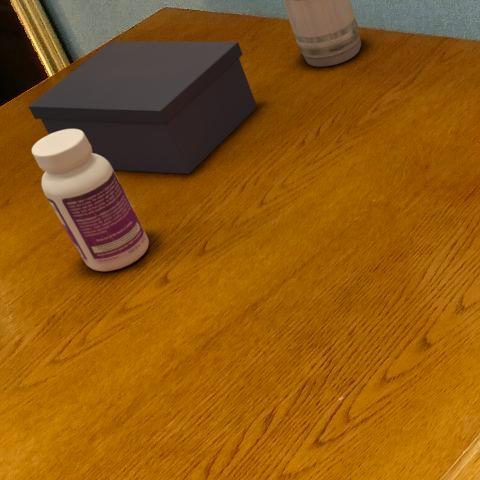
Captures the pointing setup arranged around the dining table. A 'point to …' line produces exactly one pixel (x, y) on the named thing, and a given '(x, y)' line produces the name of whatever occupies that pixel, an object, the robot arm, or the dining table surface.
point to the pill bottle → (89, 201)
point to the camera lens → (324, 30)
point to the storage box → (152, 103)
